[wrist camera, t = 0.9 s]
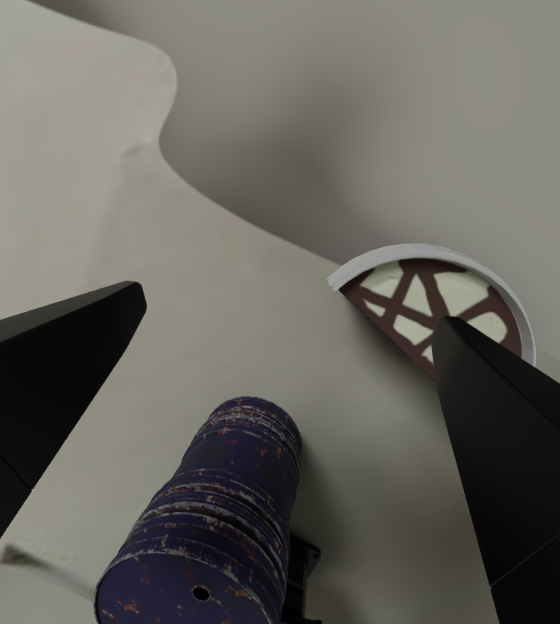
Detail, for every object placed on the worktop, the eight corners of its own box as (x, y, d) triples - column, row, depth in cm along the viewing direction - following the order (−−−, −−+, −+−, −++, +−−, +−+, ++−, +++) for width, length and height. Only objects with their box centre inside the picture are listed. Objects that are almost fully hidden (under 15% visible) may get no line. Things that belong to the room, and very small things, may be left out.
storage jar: (276, 501, 31) (232, 730, 16) (190, 457, 31) (71, 642, 17) (320, 424, 28) (314, 616, 14) (225, 377, 28) (122, 514, 14)
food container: (495, 318, 24) (610, 370, 14) (432, 369, 25) (497, 446, 16) (383, 209, 23) (423, 184, 14) (326, 268, 25) (326, 283, 15)
